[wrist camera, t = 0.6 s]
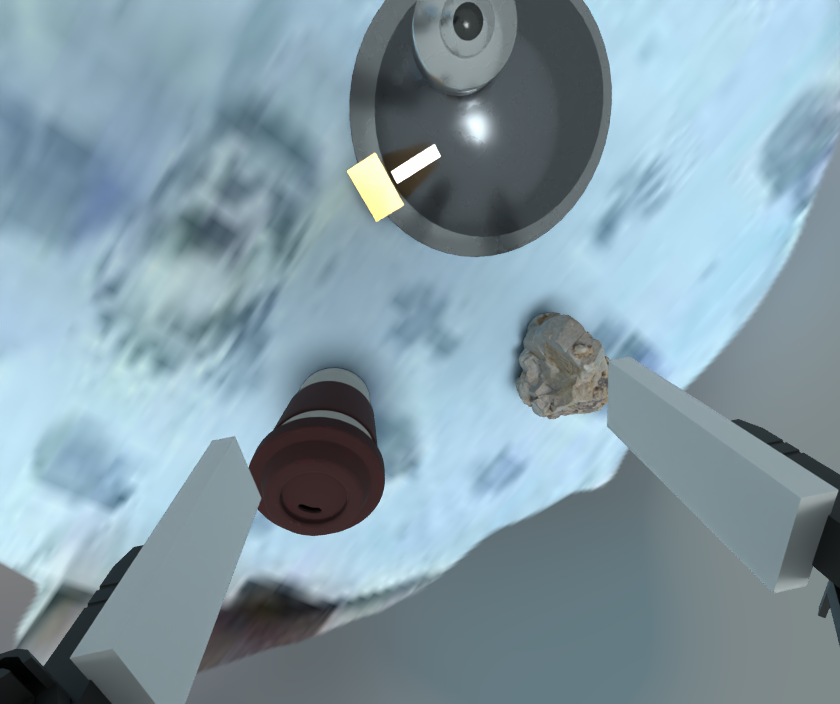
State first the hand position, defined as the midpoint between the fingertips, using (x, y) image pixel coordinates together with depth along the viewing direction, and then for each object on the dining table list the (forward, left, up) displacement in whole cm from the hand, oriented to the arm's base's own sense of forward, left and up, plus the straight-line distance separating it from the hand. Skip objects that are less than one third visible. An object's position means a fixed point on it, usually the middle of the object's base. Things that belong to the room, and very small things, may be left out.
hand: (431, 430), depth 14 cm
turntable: (-8, +12, -24) cm, 28 cm away
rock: (+15, +9, -26) cm, 31 cm away
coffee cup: (+7, -12, -26) cm, 29 cm away
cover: (-13, +13, -22) cm, 29 cm away
